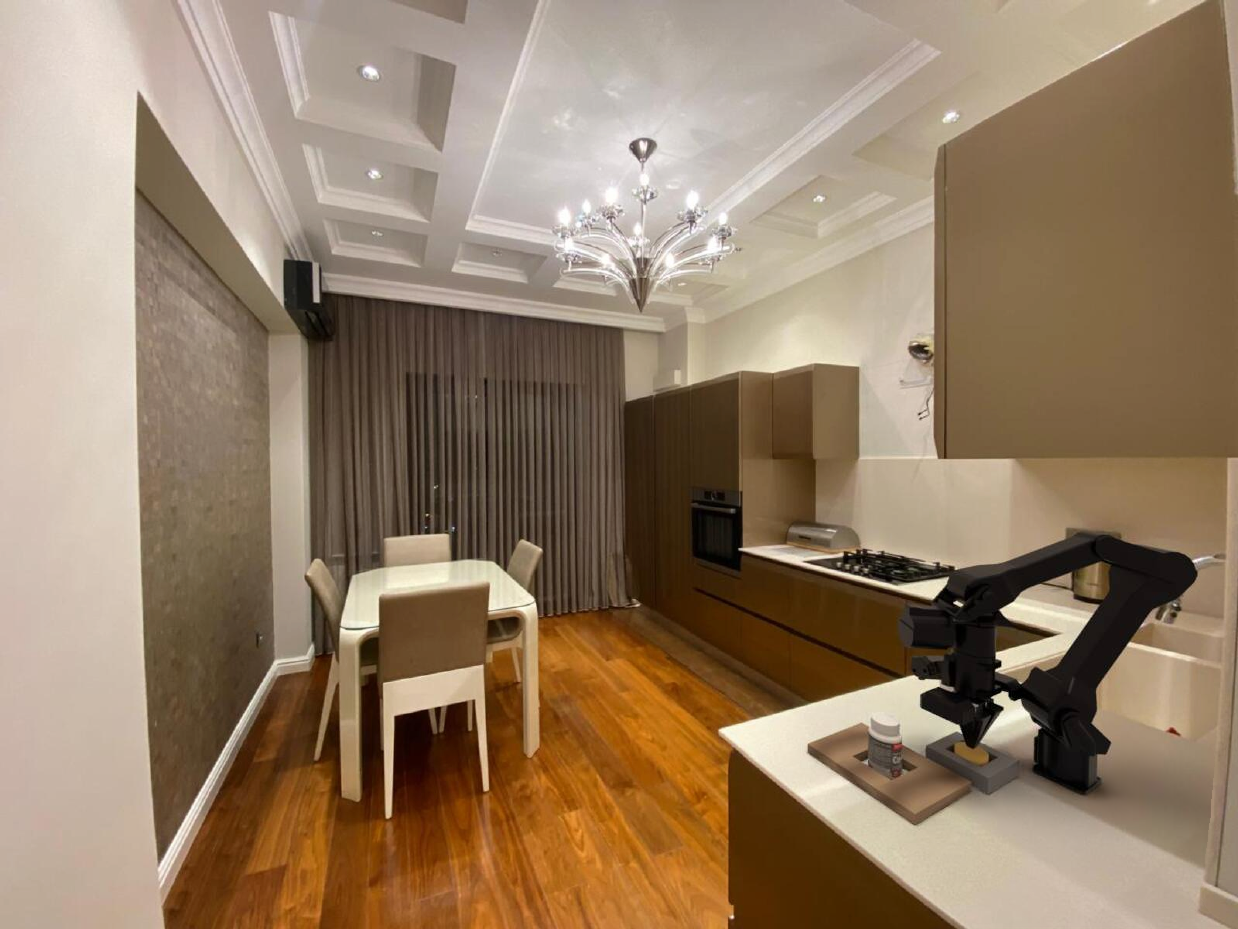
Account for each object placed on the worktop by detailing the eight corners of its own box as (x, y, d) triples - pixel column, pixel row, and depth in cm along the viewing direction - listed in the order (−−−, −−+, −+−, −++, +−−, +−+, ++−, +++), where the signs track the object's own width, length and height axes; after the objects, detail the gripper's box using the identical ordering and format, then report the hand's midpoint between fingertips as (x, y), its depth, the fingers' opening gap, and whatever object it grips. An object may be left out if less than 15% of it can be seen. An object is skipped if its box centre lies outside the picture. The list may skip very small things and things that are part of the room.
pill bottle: (899, 785, 74) (900, 730, 74) (864, 772, 77) (865, 720, 77) (903, 769, 78) (904, 717, 77) (870, 757, 81) (871, 707, 80)
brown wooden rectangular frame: (971, 792, 72) (971, 782, 72) (914, 825, 66) (915, 814, 66) (861, 730, 88) (861, 722, 88) (807, 752, 82) (807, 743, 82)
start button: (993, 769, 77) (994, 753, 77) (979, 778, 75) (979, 762, 75) (963, 754, 81) (963, 739, 81) (948, 762, 79) (948, 746, 79)
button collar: (1018, 776, 76) (1018, 760, 76) (988, 795, 72) (988, 778, 72) (956, 745, 84) (956, 731, 84) (925, 760, 80) (925, 745, 80)
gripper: (952, 625, 89) (950, 709, 89) (888, 643, 80) (886, 736, 81) (1025, 646, 79) (1023, 741, 79) (961, 670, 70) (959, 776, 71)
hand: (971, 747), depth 78 cm, fingers closed
